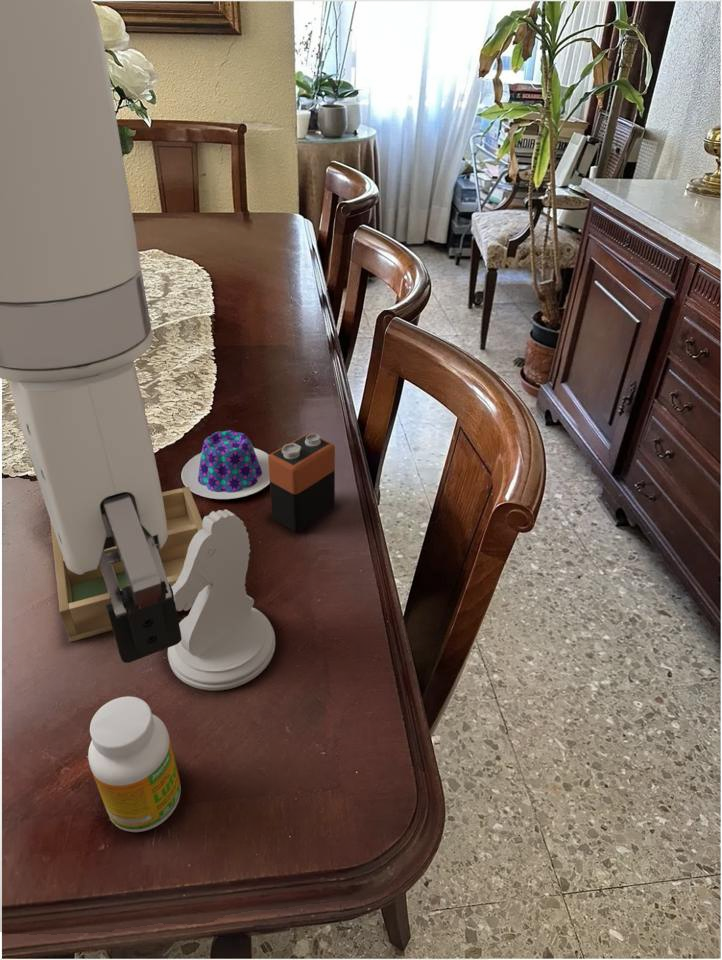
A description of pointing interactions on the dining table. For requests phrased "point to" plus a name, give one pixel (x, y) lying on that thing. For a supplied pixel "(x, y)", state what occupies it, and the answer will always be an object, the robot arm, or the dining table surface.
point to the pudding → (227, 467)
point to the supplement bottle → (133, 764)
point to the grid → (122, 570)
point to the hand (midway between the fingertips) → (128, 592)
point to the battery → (302, 481)
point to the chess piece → (219, 610)
